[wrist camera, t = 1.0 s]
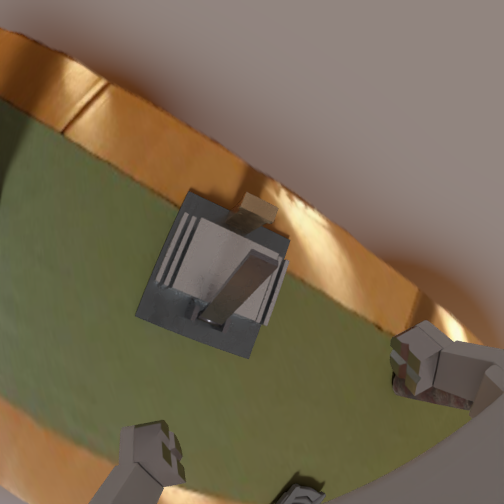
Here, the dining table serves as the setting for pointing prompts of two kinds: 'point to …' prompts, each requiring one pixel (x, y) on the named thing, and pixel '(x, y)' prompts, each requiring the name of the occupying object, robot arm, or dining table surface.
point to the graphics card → (301, 496)
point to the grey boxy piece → (214, 271)
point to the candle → (431, 395)
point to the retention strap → (238, 287)
